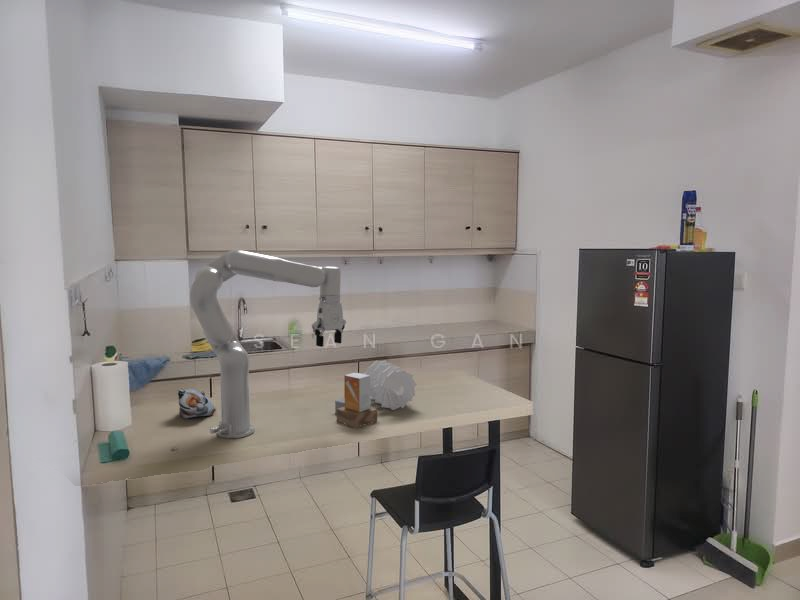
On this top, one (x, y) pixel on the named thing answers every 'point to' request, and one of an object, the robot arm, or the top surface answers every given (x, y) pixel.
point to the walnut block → (356, 416)
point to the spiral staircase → (390, 385)
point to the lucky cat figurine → (194, 404)
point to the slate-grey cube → (339, 404)
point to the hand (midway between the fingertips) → (328, 344)
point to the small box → (357, 391)
